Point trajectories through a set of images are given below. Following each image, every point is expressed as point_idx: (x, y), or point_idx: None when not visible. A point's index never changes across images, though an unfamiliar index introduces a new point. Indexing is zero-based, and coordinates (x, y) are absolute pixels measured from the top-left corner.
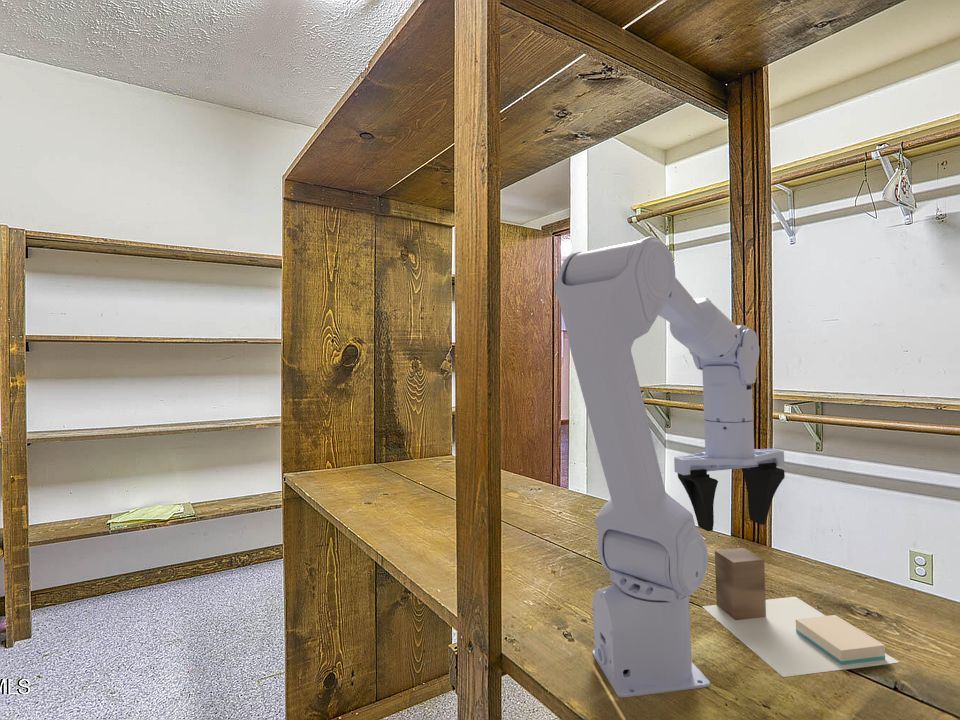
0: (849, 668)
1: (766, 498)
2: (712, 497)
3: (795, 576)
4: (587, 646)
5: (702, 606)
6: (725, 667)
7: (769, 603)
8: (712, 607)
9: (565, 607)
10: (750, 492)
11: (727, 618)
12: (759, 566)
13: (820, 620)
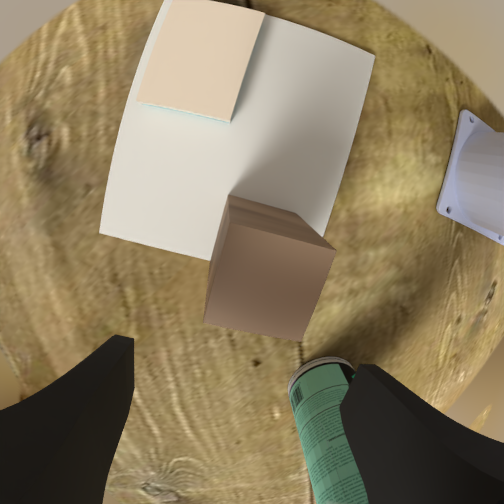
0: None
1: (80, 404)
2: (454, 441)
3: (36, 298)
4: (494, 263)
5: None
6: (415, 126)
7: (170, 234)
8: None
9: (448, 356)
10: (101, 476)
11: None
12: (247, 221)
13: (186, 94)
